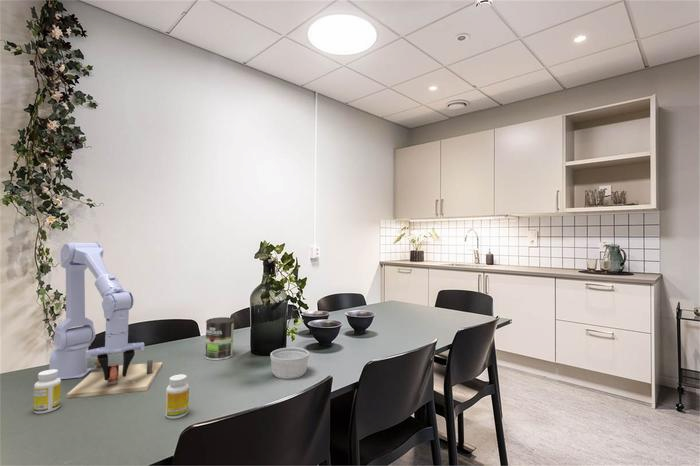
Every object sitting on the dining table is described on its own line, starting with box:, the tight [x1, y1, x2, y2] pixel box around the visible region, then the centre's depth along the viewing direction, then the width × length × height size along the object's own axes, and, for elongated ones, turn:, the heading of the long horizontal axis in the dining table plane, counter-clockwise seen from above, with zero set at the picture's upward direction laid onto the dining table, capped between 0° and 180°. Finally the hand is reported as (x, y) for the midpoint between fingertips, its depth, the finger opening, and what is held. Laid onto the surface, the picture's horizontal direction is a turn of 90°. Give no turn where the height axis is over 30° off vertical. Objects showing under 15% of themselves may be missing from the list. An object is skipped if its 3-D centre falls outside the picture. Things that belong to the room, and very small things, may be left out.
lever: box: [107, 363, 120, 385], centre depth 111 cm, size 16×4×6 cm, turn 36°
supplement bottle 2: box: [164, 373, 190, 420], centre depth 91 cm, size 5×5×10 cm
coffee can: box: [204, 316, 235, 361], centre depth 137 cm, size 10×10×14 cm
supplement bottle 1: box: [32, 369, 62, 415], centre depth 92 cm, size 5×5×10 cm
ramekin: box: [269, 347, 310, 380], centre depth 120 cm, size 13×13×7 cm
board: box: [66, 358, 163, 399], centre depth 112 cm, size 20×22×5 cm
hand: (115, 377), depth 106 cm, fingers open, 4 cm apart
